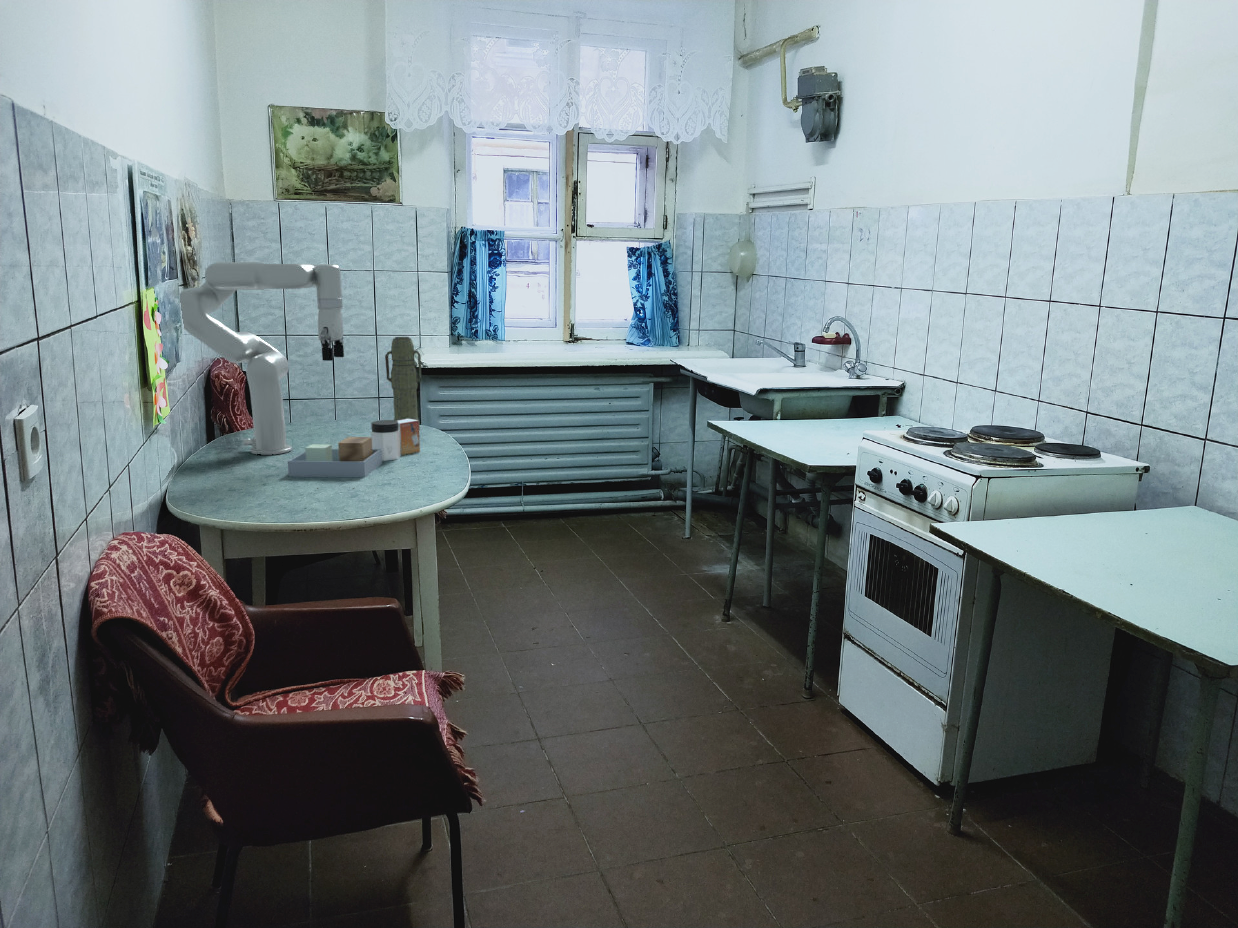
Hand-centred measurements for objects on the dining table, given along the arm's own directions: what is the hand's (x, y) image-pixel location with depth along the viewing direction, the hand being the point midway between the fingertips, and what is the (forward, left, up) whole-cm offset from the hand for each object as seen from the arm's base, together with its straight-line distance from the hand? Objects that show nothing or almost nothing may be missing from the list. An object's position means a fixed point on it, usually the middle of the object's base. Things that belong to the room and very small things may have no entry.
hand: (333, 358), depth 290 cm
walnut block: (+15, -29, -29) cm, 44 cm away
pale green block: (+4, -29, -29) cm, 42 cm away
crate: (+9, -29, -30) cm, 43 cm away
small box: (+22, -1, -30) cm, 38 cm away
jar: (+19, -12, -30) cm, 38 cm away
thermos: (+16, +24, -30) cm, 42 cm away
